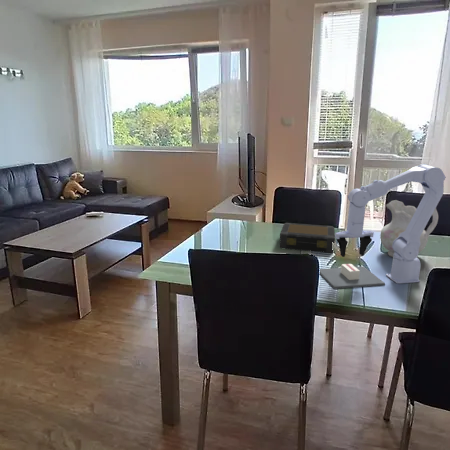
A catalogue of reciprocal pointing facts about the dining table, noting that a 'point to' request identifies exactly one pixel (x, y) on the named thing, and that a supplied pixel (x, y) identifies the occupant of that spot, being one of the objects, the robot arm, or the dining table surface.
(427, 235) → the ceramic pitcher
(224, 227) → the dining table surface
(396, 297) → the dining table surface
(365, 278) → the slate mat
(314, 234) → the cash box
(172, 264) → the dining table surface
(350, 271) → the white rectangular block
